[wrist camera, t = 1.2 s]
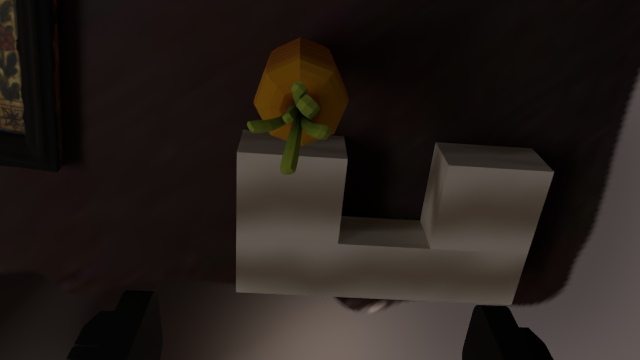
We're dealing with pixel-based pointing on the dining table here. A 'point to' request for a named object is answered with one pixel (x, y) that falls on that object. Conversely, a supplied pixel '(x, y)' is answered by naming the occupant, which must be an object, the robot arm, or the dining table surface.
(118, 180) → the dining table surface
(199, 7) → the dining table surface
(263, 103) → the carrot
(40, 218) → the dining table surface
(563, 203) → the dining table surface
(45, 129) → the framed painting
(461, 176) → the notched board
